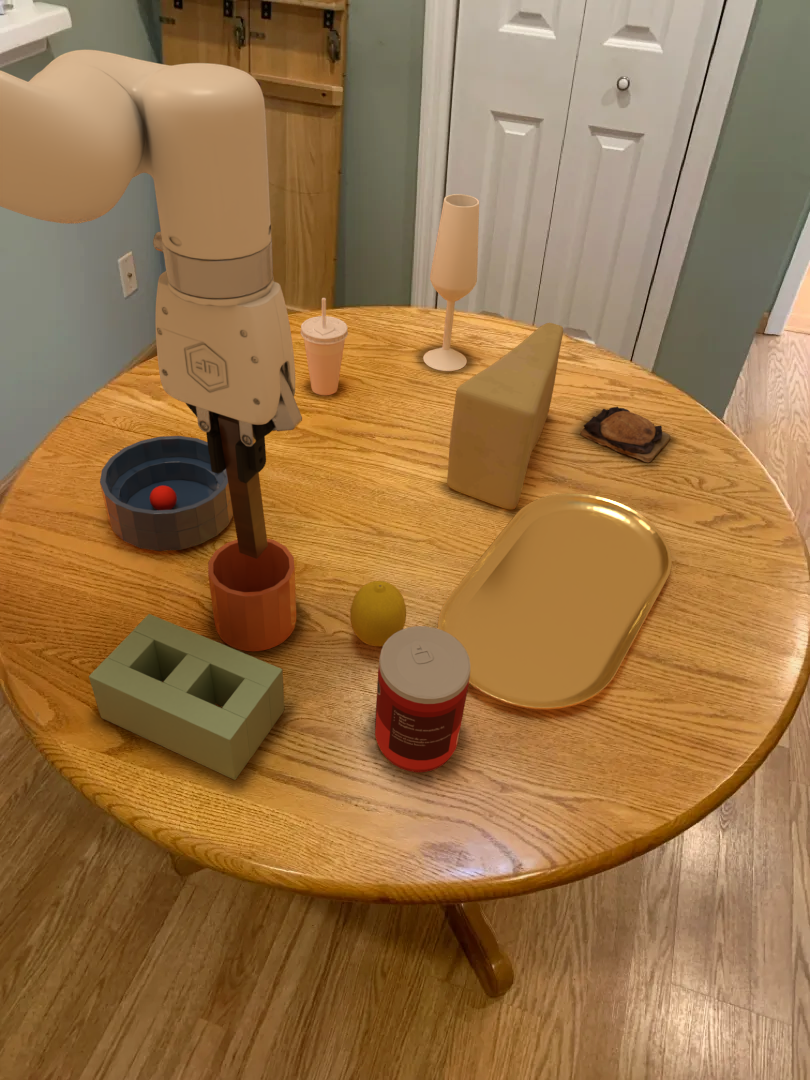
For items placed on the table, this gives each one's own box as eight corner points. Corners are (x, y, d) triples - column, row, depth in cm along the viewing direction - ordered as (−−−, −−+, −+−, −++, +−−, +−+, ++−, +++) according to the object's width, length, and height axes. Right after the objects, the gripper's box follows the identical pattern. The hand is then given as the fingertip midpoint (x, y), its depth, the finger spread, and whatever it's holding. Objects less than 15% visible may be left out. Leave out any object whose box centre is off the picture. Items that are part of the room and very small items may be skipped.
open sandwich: (672, 439, 117) (680, 417, 114) (647, 467, 111) (654, 444, 109) (603, 410, 121) (609, 388, 119) (575, 435, 116) (581, 412, 113)
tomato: (142, 505, 96) (159, 488, 95) (145, 493, 98) (161, 476, 97) (164, 520, 97) (181, 503, 96) (167, 508, 100) (183, 491, 99)
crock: (215, 654, 83) (207, 598, 78) (215, 595, 89) (208, 539, 84) (298, 648, 85) (296, 592, 79) (293, 590, 91) (291, 534, 85)
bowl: (103, 558, 92) (93, 517, 88) (115, 478, 103) (107, 438, 99) (235, 550, 95) (231, 509, 91) (234, 473, 105) (230, 433, 101)
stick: (257, 559, 79) (238, 424, 68) (238, 552, 80) (217, 417, 69) (268, 545, 81) (251, 410, 69) (250, 539, 81) (230, 403, 70)
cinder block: (235, 780, 73) (229, 740, 69) (100, 717, 77) (88, 676, 73) (285, 709, 79) (282, 668, 75) (157, 655, 83) (148, 613, 79)
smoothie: (299, 398, 118) (296, 306, 109) (305, 374, 123) (303, 284, 114) (344, 402, 118) (346, 309, 109) (348, 378, 123) (350, 287, 114)
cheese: (509, 405, 120) (525, 308, 110) (573, 426, 117) (596, 328, 107) (441, 488, 105) (453, 384, 95) (513, 514, 102) (534, 410, 92)
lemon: (386, 670, 83) (390, 615, 78) (339, 647, 85) (339, 591, 80) (413, 634, 87) (419, 579, 82) (367, 613, 89) (369, 558, 83)
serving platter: (402, 661, 84) (403, 651, 83) (545, 484, 107) (547, 474, 106) (576, 750, 78) (579, 740, 77) (689, 541, 101) (692, 531, 100)
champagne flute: (437, 374, 125) (453, 212, 109) (415, 353, 130) (427, 194, 114) (475, 365, 128) (496, 206, 112) (452, 345, 132) (469, 188, 116)
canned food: (422, 690, 82) (432, 612, 74) (475, 748, 77) (491, 672, 70) (356, 726, 78) (360, 648, 71) (408, 790, 73) (417, 714, 66)
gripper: (94, 257, 60) (134, 465, 72) (289, 312, 55) (297, 523, 68) (159, 222, 65) (187, 422, 77) (342, 269, 61) (341, 473, 73)
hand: (238, 468), depth 72 cm, fingers closed on stick, 2 cm apart
